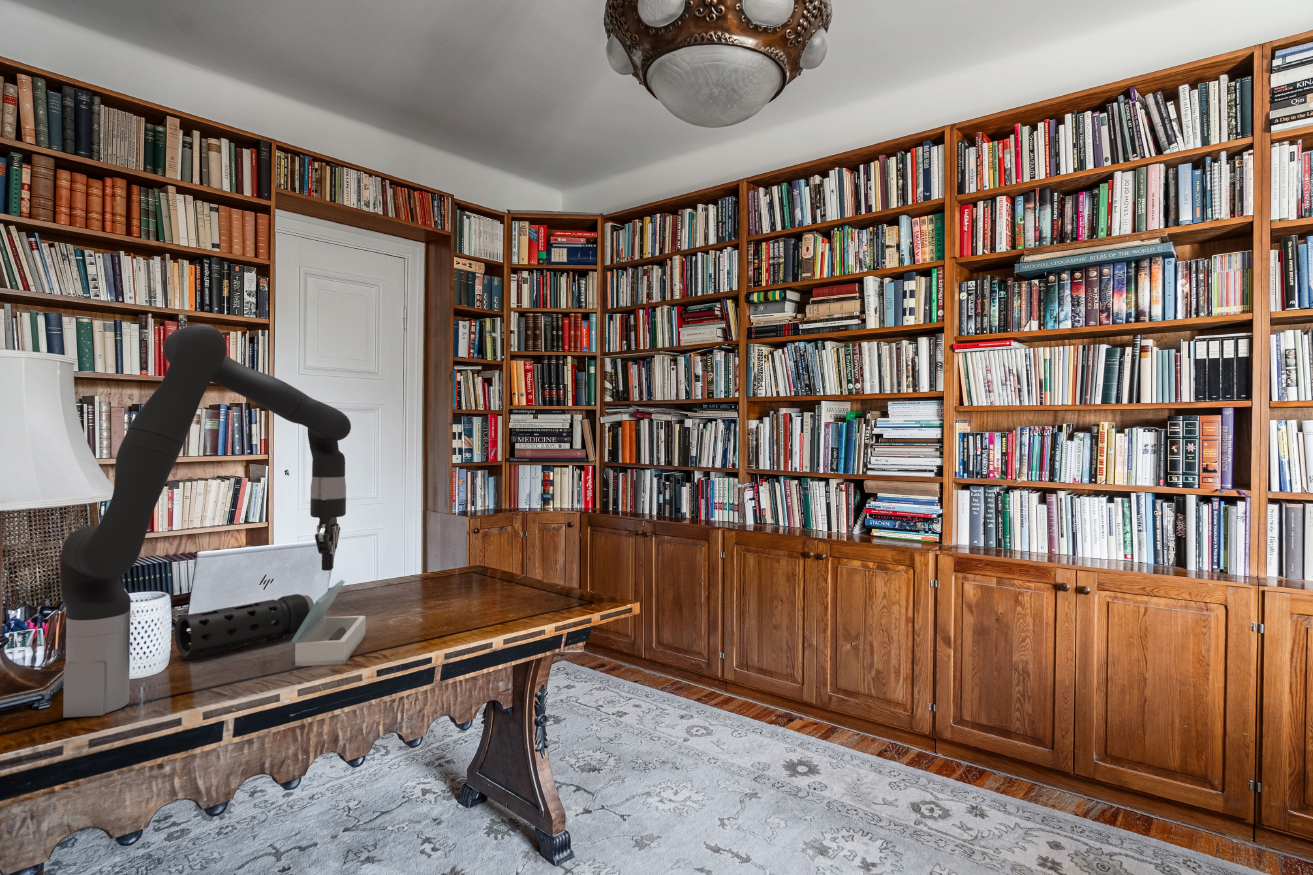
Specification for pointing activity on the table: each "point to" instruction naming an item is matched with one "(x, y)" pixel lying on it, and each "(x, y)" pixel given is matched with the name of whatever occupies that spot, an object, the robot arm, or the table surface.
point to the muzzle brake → (240, 625)
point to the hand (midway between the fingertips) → (327, 569)
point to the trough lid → (318, 610)
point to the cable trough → (330, 641)
